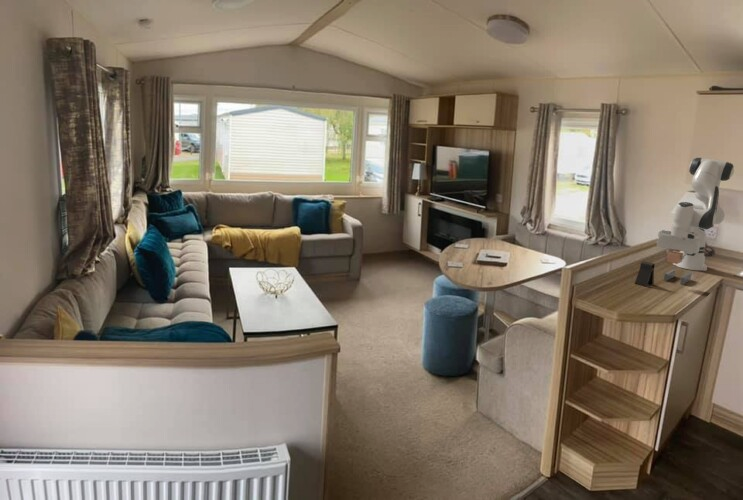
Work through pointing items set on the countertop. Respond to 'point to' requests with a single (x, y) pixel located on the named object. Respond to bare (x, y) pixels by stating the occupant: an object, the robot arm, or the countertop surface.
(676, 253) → the block
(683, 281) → the channel
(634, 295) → the countertop surface
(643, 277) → the phone stand
